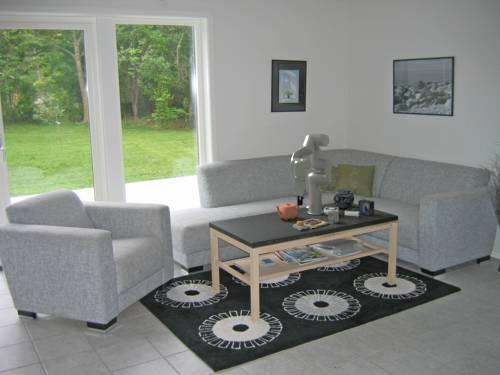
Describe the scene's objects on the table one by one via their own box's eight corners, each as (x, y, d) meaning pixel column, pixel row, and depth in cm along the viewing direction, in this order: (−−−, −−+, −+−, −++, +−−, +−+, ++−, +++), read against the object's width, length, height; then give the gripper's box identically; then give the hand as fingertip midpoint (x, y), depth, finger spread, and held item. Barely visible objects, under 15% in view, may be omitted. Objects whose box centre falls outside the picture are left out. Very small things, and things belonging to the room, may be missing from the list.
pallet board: (295, 224, 375) (295, 221, 374) (312, 219, 385) (312, 216, 384) (311, 229, 362) (311, 226, 362) (329, 224, 372) (329, 221, 372)
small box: (357, 214, 396) (357, 200, 394) (362, 212, 400) (362, 198, 398) (369, 216, 389) (369, 202, 386) (374, 214, 393) (374, 201, 391)
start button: (295, 226, 364) (295, 221, 363) (300, 224, 367) (300, 220, 366) (300, 227, 360) (300, 223, 360) (304, 226, 363) (304, 221, 362)
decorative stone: (348, 211, 403) (348, 192, 400) (329, 208, 413) (329, 190, 410) (357, 207, 416) (357, 188, 412) (339, 204, 425) (339, 186, 422)
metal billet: (328, 222, 378) (328, 211, 376) (333, 220, 381) (333, 209, 380) (332, 223, 374) (332, 212, 373) (338, 221, 378) (338, 211, 376)
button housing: (293, 228, 365) (293, 224, 364) (300, 226, 369) (300, 222, 368) (300, 231, 359) (300, 226, 359) (307, 229, 363) (307, 224, 363)
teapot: (295, 215, 399) (295, 199, 396) (303, 219, 388) (303, 203, 385) (271, 218, 391) (271, 203, 389) (278, 222, 380) (278, 206, 378)
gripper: (288, 177, 360) (288, 204, 364) (303, 181, 348) (303, 208, 352) (296, 176, 364) (296, 202, 368) (311, 179, 353) (311, 206, 357)
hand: (300, 205), depth 360 cm, fingers closed
